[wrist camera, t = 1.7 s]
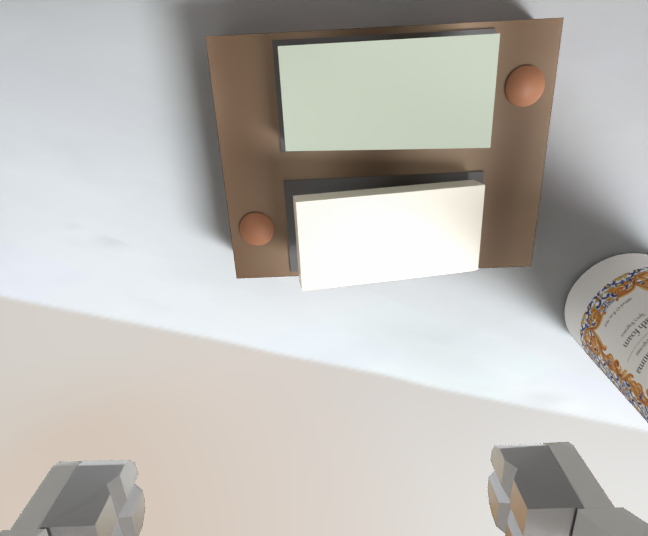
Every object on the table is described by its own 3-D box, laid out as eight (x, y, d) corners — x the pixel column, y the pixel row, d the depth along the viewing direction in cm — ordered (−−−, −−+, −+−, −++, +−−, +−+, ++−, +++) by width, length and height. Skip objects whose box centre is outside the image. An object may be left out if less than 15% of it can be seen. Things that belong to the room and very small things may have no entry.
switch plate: (536, 22, 24) (574, 15, 21) (511, 246, 29) (538, 273, 25) (218, 39, 25) (200, 35, 21) (245, 257, 29) (233, 286, 26)
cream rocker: (473, 179, 24) (485, 184, 23) (467, 261, 26) (477, 270, 25) (292, 195, 23) (295, 202, 22) (299, 280, 24) (302, 291, 23)
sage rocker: (495, 34, 20) (500, 33, 19) (486, 143, 22) (490, 147, 21) (284, 46, 22) (277, 46, 21) (292, 146, 23) (285, 151, 22)
